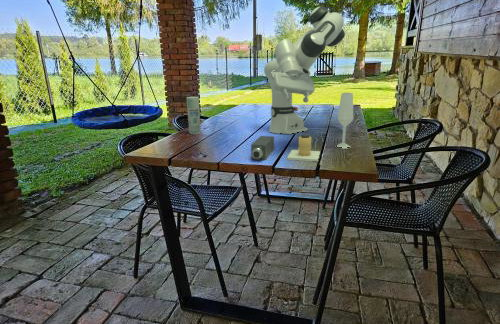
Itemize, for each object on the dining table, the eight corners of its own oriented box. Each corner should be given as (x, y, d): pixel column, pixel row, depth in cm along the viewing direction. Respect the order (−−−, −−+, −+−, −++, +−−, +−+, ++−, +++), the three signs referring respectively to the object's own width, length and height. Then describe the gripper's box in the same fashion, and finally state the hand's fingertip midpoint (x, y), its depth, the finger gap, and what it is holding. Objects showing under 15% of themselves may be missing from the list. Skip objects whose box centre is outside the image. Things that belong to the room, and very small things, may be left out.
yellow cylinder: (300, 152, 130) (300, 133, 127) (311, 153, 127) (312, 134, 125) (296, 155, 125) (297, 136, 123) (308, 156, 123) (309, 137, 121)
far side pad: (291, 151, 134) (291, 149, 133) (320, 153, 131) (320, 151, 130) (287, 159, 123) (287, 157, 123) (317, 161, 120) (318, 159, 119)
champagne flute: (350, 148, 137) (355, 94, 130) (335, 147, 139) (338, 93, 132) (350, 145, 143) (355, 92, 136) (335, 144, 145) (339, 92, 138)
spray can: (189, 134, 171) (186, 98, 165) (188, 132, 177) (186, 96, 171) (201, 133, 172) (198, 97, 166) (200, 131, 178) (198, 96, 172)
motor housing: (262, 147, 142) (262, 134, 140) (275, 147, 141) (275, 135, 139) (249, 161, 122) (249, 146, 120) (263, 162, 120) (263, 147, 119)
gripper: (273, 64, 126) (280, 93, 121) (312, 71, 136) (320, 98, 131) (266, 74, 131) (272, 102, 127) (304, 80, 141) (311, 106, 136)
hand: (297, 100), depth 129 cm, fingers open, 8 cm apart
